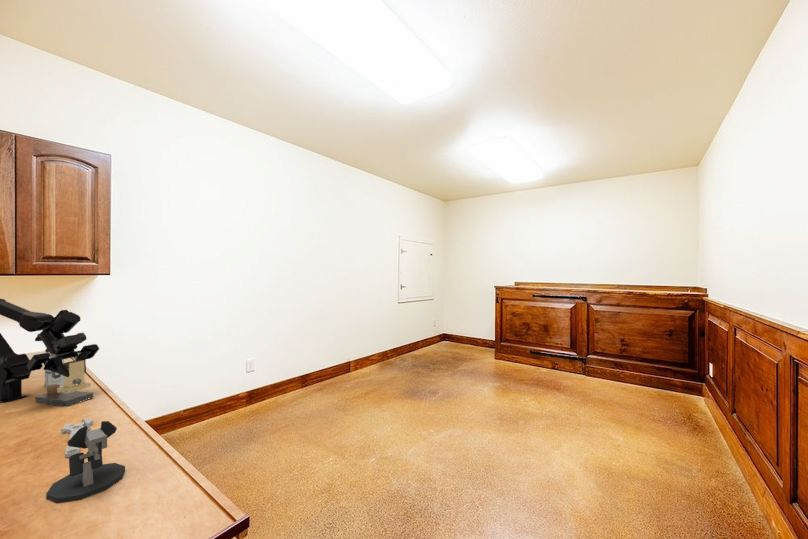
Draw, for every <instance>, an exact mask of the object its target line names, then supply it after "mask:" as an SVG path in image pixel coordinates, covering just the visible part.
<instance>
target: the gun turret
mask: <svg viewBox="0 0 808 539" xmlns="http://www.w3.org/2000/svg"><path fill="white" fill-rule="evenodd" d="M82 426H83V427H82V428H80V429H79V430H78V431H77V432H76V433H75V434H74V435H73V437H72V438H71V439H70V440H69V439H68V441H67V445H68V446H70V447H77V448H80V449H87V451H86V453H84V452H79V453H78V454H75V455H72V456H70V457H69V458H68V468H69V474H68V475H66V476H63V478H60V479H59V480H57V481H55V482H53V483H52V484H51V486H50V487H49V489H48V491H47V492H46V496H45V499H47V500H49V501H50V502H53V503H54V504H61V503H68V502H74V501H80V500H83V499H86V498H88V497H91V496H94V495H96V494H99V493H102V492H104V491H106V490H108V489H109V488H111V487H113V484H114V485H115V484H117V483H119V482H120V481H121V480H123V478H124V475H125V471H126V465H123V464H119V463H117V462H109V463H104V462H103V455H102V454H103V449H107V448H108V438H110V437H111V436H113V435H114V434H115V433H116V432H117V430H118V428H117V426H115V425H114V424H113V423H111V422H110V421H109V420H107V421H106V420H105V421H104V420H102V421H101V423H100V428H97V429H92V428H91V426H90V427H89V425H88V423H86V422H84V424H83V425H82ZM86 459H87V461H86V462H85V460H86ZM119 480H120V481H119ZM116 482H117V483H116Z"/></svg>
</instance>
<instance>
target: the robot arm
mask: <svg viewBox="0 0 808 539" xmlns="http://www.w3.org/2000/svg"><path fill="white" fill-rule="evenodd" d="M0 315H1V316H2V317H5V318H7V319H9V320H12V321H15V322H16V323H18V324H19V328H21V329H23V330H25V331H26V332H29V333H33V332H34V333H35V332H39V331H40V332H39V333H38V334H37V335H36V337H35V339H34V341H35V342H42V343H43V344H44V347H45V350H44V352H42V353H37V354H34V355H32V357H31V358H30V359H29V357H28V355H27V354H26V353H21V354H18V353H17V352H14V350H13V349H12V347H11V346H10V344H9V343H8V341H7V340H6V339H5V337H4V336H3V334H2V333H1V332H0V403H6V402H10V401H11V402H12V401H14V400H18V399H21V398H26V397H28V394H23V393H22V391H23V390H22V389H23V388H22V387H23V382H22V381H23V380H28V379H29V378H30V376H31V373H32V372H33V371H38V370H41V369H42V368H43V370H44V371H45V370H50V371H53V372H56V373H58V374H61V375H63V376H65V377H69V376H70V374H69V372H68V370H67V369H66V367H65V366H64V364H63V363H62V360H63V359H64V360H67V359H72V358H73V359H74V361H76V360H84V374H85V373H86V372H87V367H86V365H87V362H86V360H89V359H93V358H94V357H95V355H96V354H97V353H98V352H99V350H100V347H99V345H98V344H96V343H92V344H87V345H83V346H82V348H81V349H80V350H77V348H78V345H80V344H82V343H83V342H85V341H86V340H87V336H86V334H85V333H84V332H78V333H77V334H72V335H65V334H67V333H69V332H70V331H71V330H73V329H74V327H76V326H77V325H78V323H80V321H81V316H80V315H79V314H76V313H75V312H72V311H68V309H61V310H59V312H58V313H57V314H56V316H55V317H54V316H53V315H52V314H50V313H45V312H38V311H37V312H36V311H30V310H28V309H26V308H24V307H21V306H19V305H16V304H14V303H11V302H9V301H7V300H6V299H4V298H0Z"/></svg>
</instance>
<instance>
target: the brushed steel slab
mask: <svg viewBox="0 0 808 539" xmlns="http://www.w3.org/2000/svg"><path fill="white" fill-rule="evenodd" d="M59 387H60V385H57V384H52V385H48V386H47V388H46V393H45V394H41V395H37V396H35V397H34V399H35V403H36V402H37V404H43V403H44V405H50V404H52V405H51V406H57V405H59V406H58V407H64V406H67V407H70V406H69V405H71V406H73V405H72V404H74V405H76V404H75V403H77V404H79V403H78V402H80V401H83V400H86V399H88V398H92V397H93V398H94V392H90V391H89V392H88V391H81V390H78V391H74V392H71V393H67V394H66V393H58V392H57V388H59ZM86 401H87V400H86ZM83 402H84V401H83ZM80 403H81V402H80Z"/></svg>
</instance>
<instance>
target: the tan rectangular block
mask: <svg viewBox="0 0 808 539" xmlns="http://www.w3.org/2000/svg"><path fill="white" fill-rule="evenodd" d="M64 366H65V367H66V369H67V370H68V372H69V374H70V376H69V377H65V376H64V386H63V387H59V388H57V392H58V393H66V394H67V393H71V392H74V391H81V390H86V389H87V388H91V382H86V381H85V373H84V360H76V361H75V360H71V361H67V362H64Z"/></svg>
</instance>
